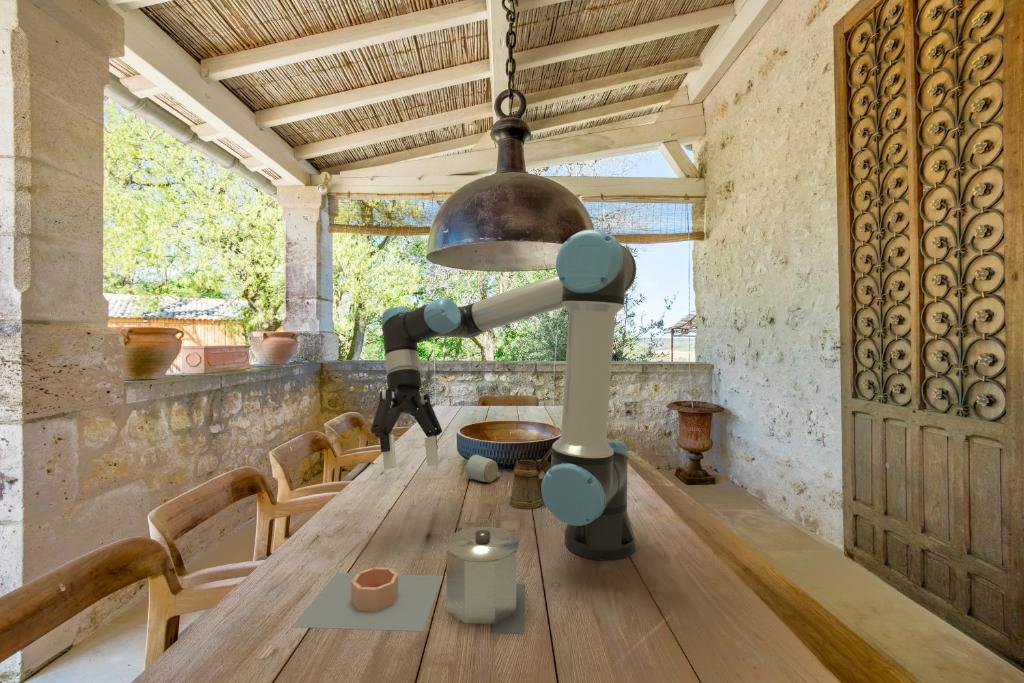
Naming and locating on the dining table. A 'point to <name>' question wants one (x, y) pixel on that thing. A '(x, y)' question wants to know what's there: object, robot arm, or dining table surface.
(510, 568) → the stockpot with side handles
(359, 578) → the bowl
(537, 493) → the wooden mug
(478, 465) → the ceramic mug
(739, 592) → the dining table surface
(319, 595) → the serving board
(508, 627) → the rubber mat
